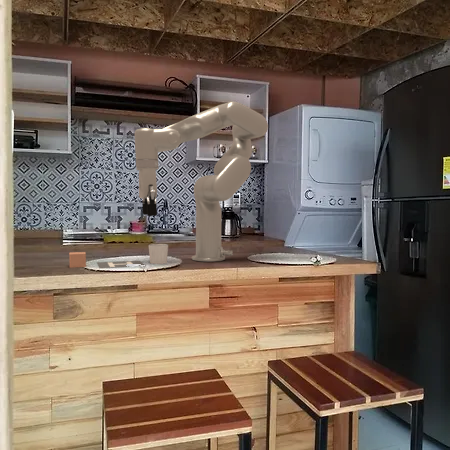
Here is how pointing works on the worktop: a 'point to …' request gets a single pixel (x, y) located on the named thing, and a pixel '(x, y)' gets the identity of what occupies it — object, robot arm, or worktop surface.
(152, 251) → the beige tapered cup
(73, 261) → the terracotta block
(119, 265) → the letter mat
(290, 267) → the worktop surface
